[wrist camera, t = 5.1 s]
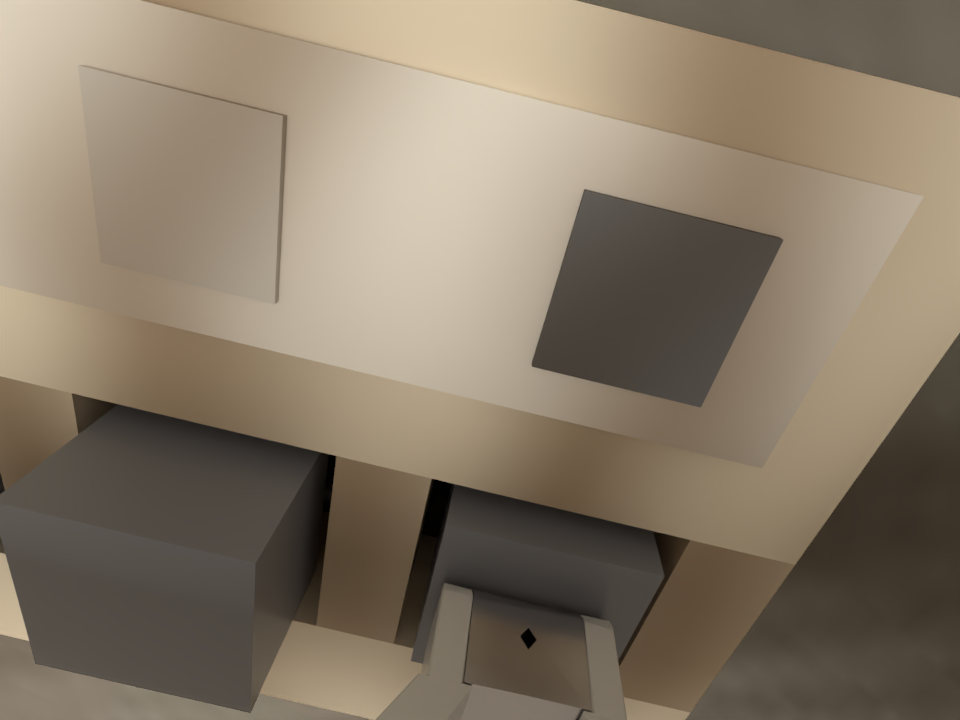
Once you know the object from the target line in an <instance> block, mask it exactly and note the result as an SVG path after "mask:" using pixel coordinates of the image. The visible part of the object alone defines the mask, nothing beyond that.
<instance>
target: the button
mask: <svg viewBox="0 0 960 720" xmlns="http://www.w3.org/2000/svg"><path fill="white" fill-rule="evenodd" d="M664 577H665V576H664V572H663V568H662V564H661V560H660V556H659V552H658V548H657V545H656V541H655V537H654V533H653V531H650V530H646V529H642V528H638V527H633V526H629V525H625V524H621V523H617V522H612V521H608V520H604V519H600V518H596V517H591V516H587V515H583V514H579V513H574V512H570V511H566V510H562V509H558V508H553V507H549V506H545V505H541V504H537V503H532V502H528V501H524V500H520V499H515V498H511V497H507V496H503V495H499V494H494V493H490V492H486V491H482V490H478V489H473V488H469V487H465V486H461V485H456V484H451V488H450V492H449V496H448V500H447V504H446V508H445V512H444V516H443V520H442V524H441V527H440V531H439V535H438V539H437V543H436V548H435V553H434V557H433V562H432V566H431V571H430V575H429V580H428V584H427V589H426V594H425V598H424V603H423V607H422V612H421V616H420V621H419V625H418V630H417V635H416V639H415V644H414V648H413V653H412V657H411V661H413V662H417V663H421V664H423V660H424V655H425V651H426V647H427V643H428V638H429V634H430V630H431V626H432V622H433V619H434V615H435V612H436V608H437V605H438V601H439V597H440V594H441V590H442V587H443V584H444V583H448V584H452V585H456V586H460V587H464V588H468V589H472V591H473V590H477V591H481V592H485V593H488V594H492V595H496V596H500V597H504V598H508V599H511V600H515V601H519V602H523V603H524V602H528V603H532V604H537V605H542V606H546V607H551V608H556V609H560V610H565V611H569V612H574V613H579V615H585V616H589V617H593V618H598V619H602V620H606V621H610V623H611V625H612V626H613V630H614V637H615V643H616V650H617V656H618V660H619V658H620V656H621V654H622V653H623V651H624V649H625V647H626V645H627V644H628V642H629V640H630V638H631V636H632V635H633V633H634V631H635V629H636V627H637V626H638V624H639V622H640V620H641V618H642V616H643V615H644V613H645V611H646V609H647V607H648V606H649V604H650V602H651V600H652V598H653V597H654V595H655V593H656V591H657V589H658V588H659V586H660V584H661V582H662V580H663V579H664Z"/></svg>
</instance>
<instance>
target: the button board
mask: <svg viewBox="0 0 960 720" xmlns="http://www.w3.org/2000/svg"><path fill="white" fill-rule="evenodd" d="M959 333H960V98H959V97H955V96H951V95H947V94H943V93H939V92H935V91H931V90H927V89H923V88H919V87H915V86H911V85H907V84H903V83H900V82H896V81H892V80H888V79H884V78H880V77H876V76H872V75H868V74H864V73H860V72H856V71H852V70H848V69H844V68H840V67H836V66H833V65H829V64H825V63H821V62H817V61H813V60H809V59H805V58H801V57H797V56H793V55H789V54H785V53H781V52H777V51H773V50H769V49H765V48H762V47H758V46H754V45H750V44H746V43H742V42H738V41H734V40H730V39H726V38H722V37H718V36H714V35H710V34H706V33H702V32H698V31H694V30H691V29H687V28H683V27H679V26H675V25H671V24H667V23H663V22H659V21H655V20H651V19H647V18H643V17H639V16H635V15H631V14H627V13H624V12H620V11H616V10H612V9H608V8H604V7H600V6H596V5H592V4H588V3H584V2H580V1H576V0H0V473H1V477H2V481H3V485H4V488H5V490H7V489H8V488H9V487H11V486H12V485H13V484H14V483H16V482H17V481H18V480H20V479H21V478H22V477H24V476H25V475H26V474H28V473H29V472H30V471H31V470H33V469H34V468H35V467H37V466H38V465H39V464H41V463H42V462H43V461H44V460H46V459H47V458H48V457H50V456H51V455H52V454H54V453H55V452H56V451H57V450H59V449H60V448H61V447H63V446H64V445H65V444H67V443H68V442H69V441H70V440H72V439H73V438H74V437H76V436H77V435H78V434H80V433H81V432H82V431H84V430H85V429H86V428H87V427H89V426H90V425H91V424H93V423H94V422H95V421H97V420H98V419H99V418H100V417H102V416H103V415H104V414H106V413H107V412H108V411H110V410H111V409H112V408H113V407H115V406H116V405H117V404H119V405H124V406H128V407H132V408H136V409H140V410H145V411H149V412H153V413H157V414H161V415H166V416H170V417H174V418H178V419H183V420H187V421H191V422H195V423H199V424H204V425H208V426H212V427H216V428H220V429H225V430H229V431H233V432H237V433H242V434H246V435H250V436H254V437H258V438H263V439H267V440H271V441H275V442H279V443H284V444H288V445H292V446H296V447H301V448H305V449H309V450H313V451H317V452H322V453H326V454H330V455H334V456H336V464H335V472H334V481H333V489H332V497H331V506H330V512H326V511H323V512H322V521H321V530H320V539H319V548H318V557H317V566H316V570H315V572H314V574H313V577H312V579H311V581H310V583H309V585H308V588H307V590H306V592H305V594H304V596H303V599H302V601H301V603H300V605H299V607H298V610H297V612H296V614H295V616H294V618H293V621H292V623H291V625H290V627H289V629H288V632H287V634H286V636H285V638H284V640H283V642H282V645H281V647H280V649H279V651H278V653H277V656H276V658H275V660H274V662H273V664H272V667H271V669H270V671H269V673H268V675H267V678H266V680H265V682H264V684H263V686H262V689H261V691H260V693H259V694H263V695H268V696H272V697H276V698H281V699H285V700H290V701H294V702H298V703H303V704H307V705H311V706H316V707H320V708H324V709H329V710H333V711H338V712H342V713H346V714H351V715H355V716H359V717H364V718H368V719H372V720H376V719H377V717H378V716H379V715H380V714H381V713H382V712H383V711H384V710H385V709H386V708H387V707H388V706H389V705H390V704H391V702H392V701H393V700H394V699H395V698H396V697H397V696H398V695H399V694H400V693H401V692H402V691H403V690H404V689H405V687H406V686H407V685H408V684H409V683H410V682H411V681H412V680H413V679H414V678H415V677H416V676H417V675H418V674H421V671H422V666H423V664H421V663H417V662H413V661H411V657H412V653H413V648H414V644H415V639H416V635H417V630H418V625H419V621H420V616H421V612H422V607H423V603H424V598H425V594H426V589H427V584H428V580H429V575H430V571H431V566H432V562H433V557H434V553H435V548H436V543H437V539H438V538H437V537H432V536H428V535H424V534H422V531H423V527H424V523H425V518H426V514H427V510H428V505H429V501H430V497H431V493H432V488H433V484H434V480H440V481H444V482H448V483H452V484H456V485H461V486H465V487H469V488H473V489H478V490H482V491H486V492H490V493H494V494H499V495H503V496H507V497H511V498H515V499H520V500H524V501H528V502H532V503H537V504H541V505H545V506H549V507H553V508H558V509H562V510H566V511H570V512H574V513H579V514H583V515H587V516H591V517H596V518H600V519H604V520H608V521H612V522H617V523H621V524H625V525H629V526H633V527H638V528H642V529H646V530H650V531H653V533H654V537H655V541H656V545H657V548H658V552H659V556H660V560H661V564H662V568H663V572H664V576H665V577H664V579H663V580H662V582H661V584H660V586H659V588H658V589H657V591H656V593H655V595H654V597H653V598H652V600H651V602H650V604H649V606H648V607H647V609H646V611H645V613H644V615H643V616H642V618H641V620H640V622H639V624H638V626H637V627H636V629H635V631H634V633H633V635H632V636H631V638H630V640H629V642H628V644H627V645H626V647H625V649H624V651H623V653H622V654H621V656H620V658H619V660H618V663H619V670H620V676H621V683H622V689H623V696H624V703H625V709H626V716H627V720H686V718H687V717H688V715H689V714H690V712H691V711H692V710H693V708H694V707H695V705H696V704H697V703H698V701H699V700H700V698H701V697H702V696H703V694H704V693H705V691H706V690H707V688H708V687H709V686H710V684H711V683H712V681H713V680H714V679H715V677H716V676H717V674H718V673H719V672H720V670H721V669H722V667H723V666H724V665H725V663H726V662H727V660H728V659H729V657H730V656H731V655H732V653H733V652H734V650H735V649H736V648H737V646H738V645H739V643H740V642H741V641H742V639H743V638H744V636H745V635H746V633H747V632H748V631H749V629H750V628H751V626H752V625H753V624H754V622H755V621H756V619H757V618H758V617H759V615H760V614H761V612H762V611H763V610H764V608H765V607H766V605H767V604H768V602H769V601H770V600H771V598H772V597H773V595H774V594H775V593H776V591H777V590H778V588H779V587H780V586H781V584H782V583H783V581H784V580H785V578H786V577H787V576H788V574H789V573H790V571H791V570H792V569H793V567H794V566H795V564H796V563H797V562H798V560H799V559H800V557H801V556H802V555H803V553H804V552H805V550H806V549H807V547H808V546H809V545H810V543H811V542H812V540H813V539H814V538H815V536H816V535H817V533H818V532H819V531H820V529H821V528H822V526H823V525H824V524H825V522H826V521H827V519H828V518H829V516H830V515H831V514H832V512H833V511H834V509H835V508H836V507H837V505H838V504H839V502H840V501H841V500H842V498H843V497H844V495H845V494H846V492H847V491H848V490H849V488H850V487H851V485H852V484H853V483H854V481H855V480H856V478H857V477H858V476H859V474H860V473H861V471H862V470H863V469H864V467H865V466H866V464H867V463H868V461H869V460H870V459H871V457H872V456H873V454H874V453H875V452H876V450H877V449H878V447H879V446H880V445H881V443H882V442H883V440H884V439H885V437H886V436H887V435H888V433H889V432H890V430H891V429H892V428H893V426H894V425H895V423H896V422H897V421H898V419H899V418H900V416H901V415H902V414H903V412H904V411H905V409H906V408H907V406H908V405H909V404H910V402H911V401H912V399H913V398H914V397H915V395H916V394H917V392H918V391H919V390H920V388H921V387H922V385H923V384H924V382H925V381H926V380H927V378H928V377H929V375H930V374H931V373H932V371H933V370H934V368H935V367H936V366H937V364H938V363H939V361H940V360H941V359H942V357H943V356H944V354H945V353H946V351H947V350H948V349H949V347H950V346H951V344H952V343H953V342H954V340H955V339H956V337H957V336H958V335H959ZM0 634H2V635H6V636H10V637H15V638H19V639H23V640H28V641H29V638H28V635H27V631H26V627H25V624H24V620H23V616H22V613H21V609H20V606H19V602H18V598H17V595H16V591H15V587H14V584H13V580H12V576H11V573H10V569H9V566H8V562H7V558H6V555H5V551H4V547H3V544H2V540H1V537H0Z"/></svg>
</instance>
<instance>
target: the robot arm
mask: <svg viewBox="0 0 960 720" xmlns="http://www.w3.org/2000/svg"><path fill="white" fill-rule="evenodd" d="M376 720H627V716H626V709H625V703H624V696H623V689H622V683H621V676H620V670H619V663H618V656H617V650H616V643H615V637H614V630H613V626H612V625H611V623H610V621H606V620H602V619H598V618H593V617H589V616H585V615H579V613H574V612H569V611H565V610H560V609H556V608H551V607H546V606H542V605H537V604H532V603H528V602H524V603H523V602H519V601H515V600H511V599H508V598H504V597H500V596H496V595H492V594H488V593H485V592H481V591H477V590H473V591H472V589H468V588H464V587H460V586H456V585H452V584H448V583H444V584H443V587H442V590H441V594H440V597H439V601H438V605H437V608H436V612H435V615H434V619H433V622H432V626H431V630H430V634H429V638H428V643H427V647H426V651H425V655H424V660H423V666H422V671H421V674H418V675H417V676H416V677H415V678H414V679H413V680H412V681H411V682H410V683H409V684H408V685H407V686H406V687H405V689H404V690H403V691H402V692H401V693H400V694H399V695H398V696H397V697H396V698H395V699H394V700H393V701H392V702H391V704H390V705H389V706H388V707H387V708H386V709H385V710H384V711H383V712H382V713H381V714H380V715H379V716H378V717H377V719H376Z"/></svg>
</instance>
